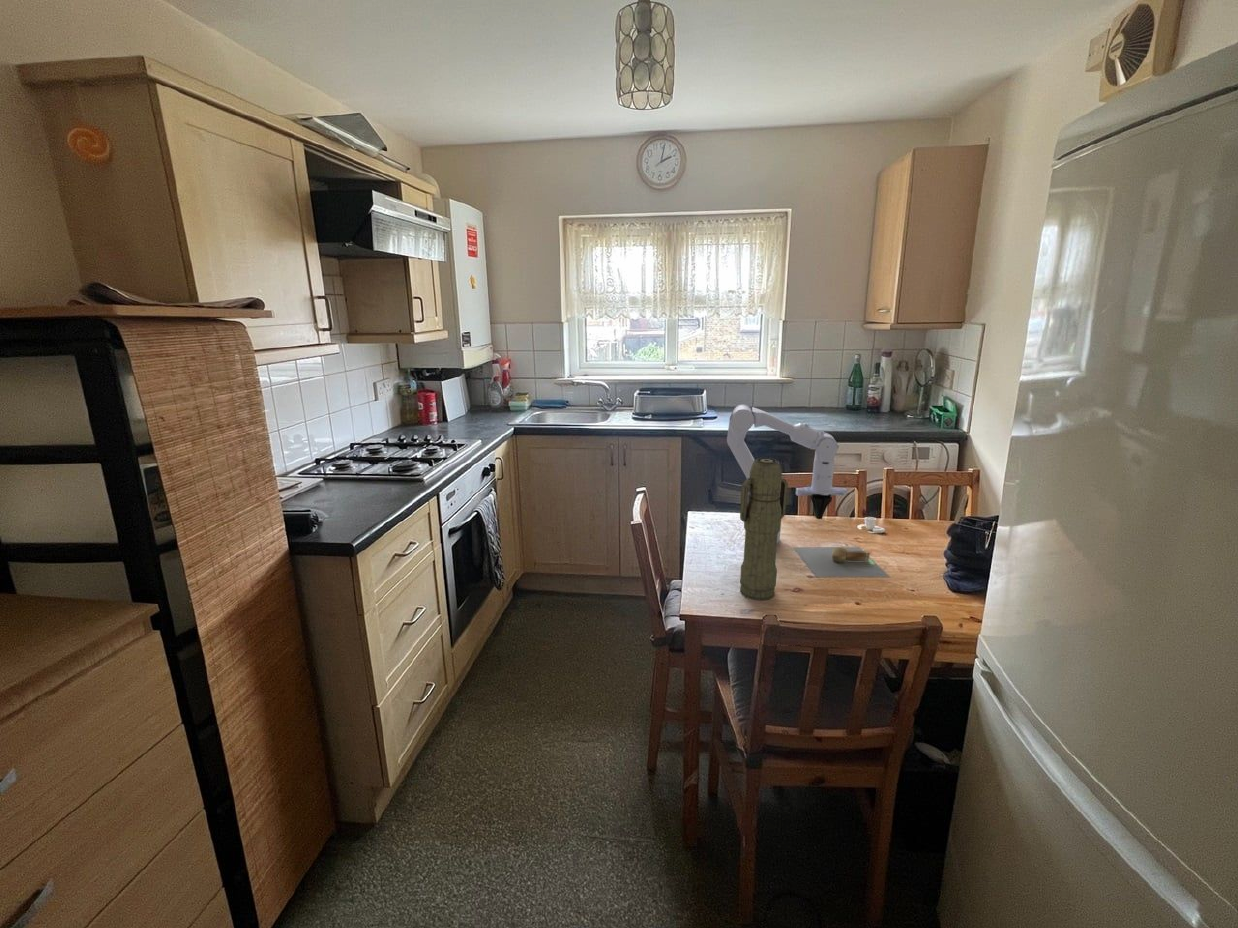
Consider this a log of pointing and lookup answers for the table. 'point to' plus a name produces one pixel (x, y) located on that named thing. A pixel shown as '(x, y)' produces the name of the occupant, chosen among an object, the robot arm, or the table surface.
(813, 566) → the board
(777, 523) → the olive green tall cylinder
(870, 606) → the table surface
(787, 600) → the table surface
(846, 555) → the olive brown knobbed bar
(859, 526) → the teacup and saucer
